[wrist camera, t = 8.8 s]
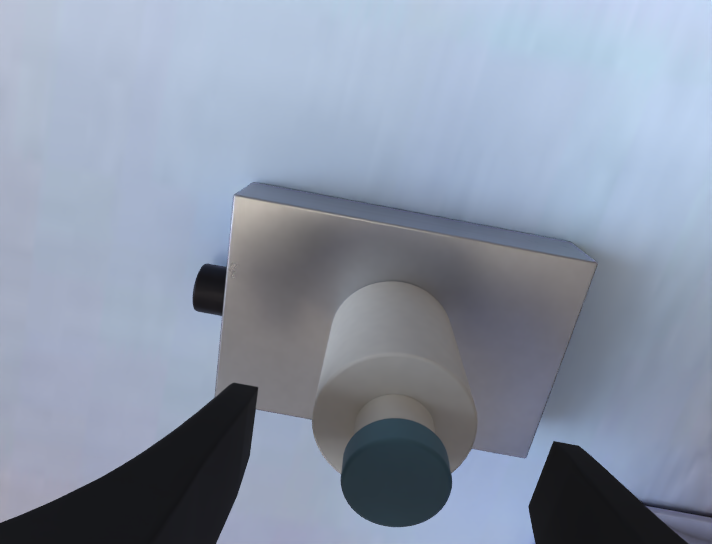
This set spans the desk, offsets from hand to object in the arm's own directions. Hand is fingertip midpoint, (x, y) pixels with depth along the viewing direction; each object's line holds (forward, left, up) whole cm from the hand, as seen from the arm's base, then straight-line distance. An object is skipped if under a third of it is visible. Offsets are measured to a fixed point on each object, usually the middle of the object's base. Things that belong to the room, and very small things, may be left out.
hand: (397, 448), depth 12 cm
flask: (0, 0, -8) cm, 8 cm away
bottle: (0, 0, -6) cm, 6 cm away
